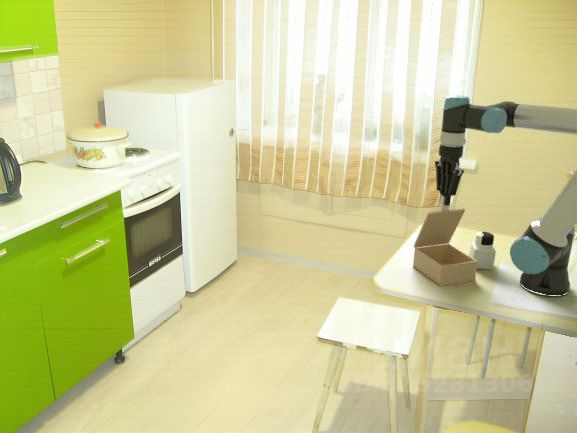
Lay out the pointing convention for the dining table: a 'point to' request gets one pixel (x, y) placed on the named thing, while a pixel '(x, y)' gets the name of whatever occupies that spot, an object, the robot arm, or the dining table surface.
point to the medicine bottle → (483, 250)
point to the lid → (439, 227)
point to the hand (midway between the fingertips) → (443, 213)
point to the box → (445, 264)
